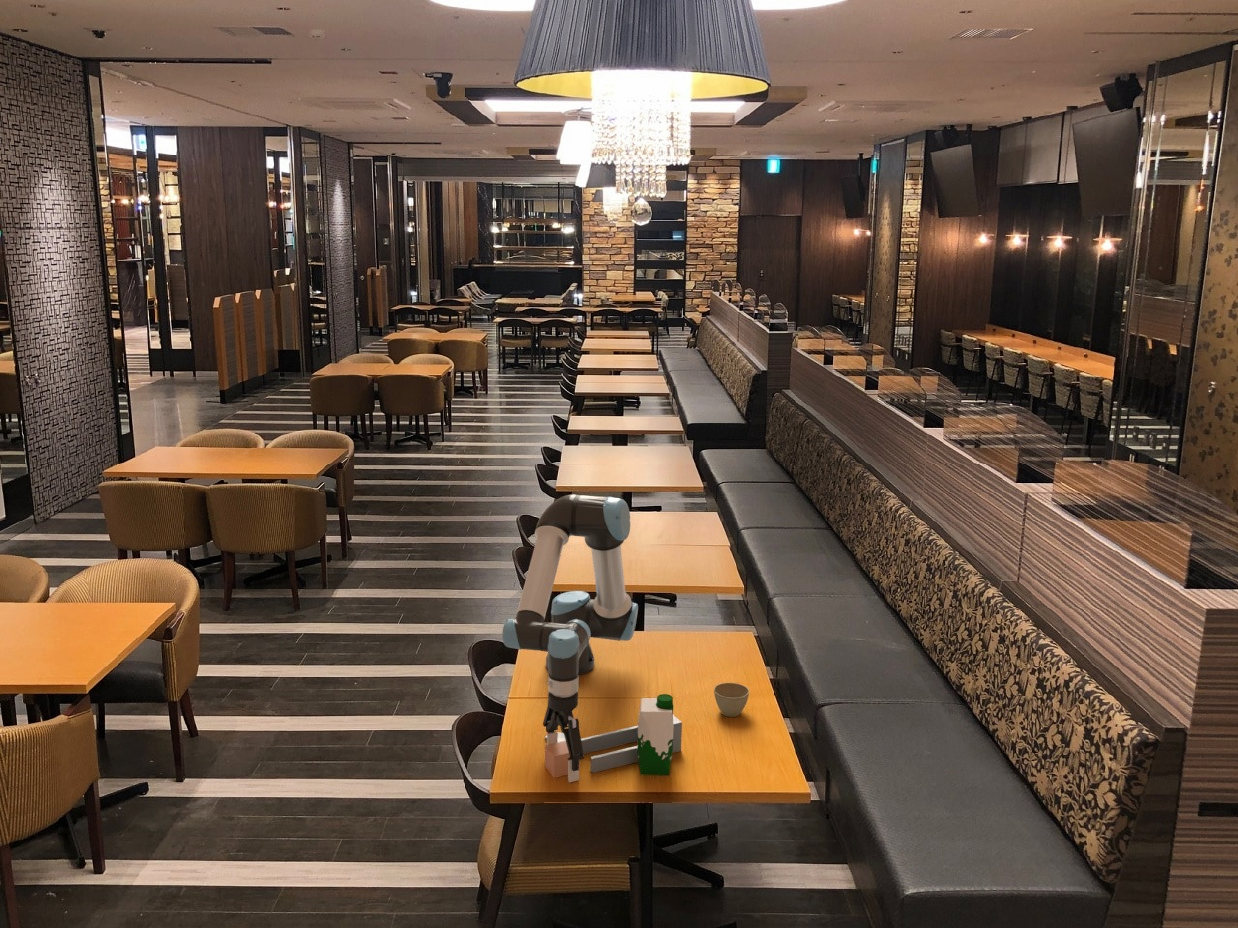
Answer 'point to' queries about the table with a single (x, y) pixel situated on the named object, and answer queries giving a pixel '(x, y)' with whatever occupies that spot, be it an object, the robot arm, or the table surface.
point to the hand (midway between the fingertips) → (562, 767)
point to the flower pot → (731, 698)
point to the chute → (618, 739)
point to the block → (557, 758)
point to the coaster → (559, 737)
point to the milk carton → (655, 735)
